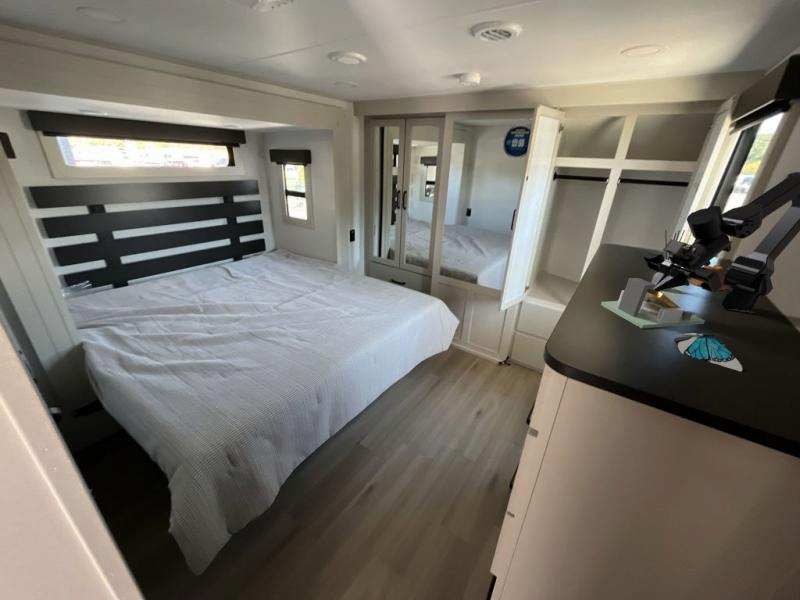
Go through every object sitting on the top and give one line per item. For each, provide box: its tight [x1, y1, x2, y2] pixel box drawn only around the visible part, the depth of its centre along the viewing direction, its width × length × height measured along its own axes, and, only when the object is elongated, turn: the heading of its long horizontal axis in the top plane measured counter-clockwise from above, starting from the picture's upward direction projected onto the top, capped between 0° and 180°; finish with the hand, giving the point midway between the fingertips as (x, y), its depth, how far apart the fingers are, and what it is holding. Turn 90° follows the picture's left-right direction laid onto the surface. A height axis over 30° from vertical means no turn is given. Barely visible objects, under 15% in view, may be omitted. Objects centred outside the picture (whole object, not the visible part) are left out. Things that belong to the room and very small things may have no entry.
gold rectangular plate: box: [645, 288, 686, 316], centre depth 87 cm, size 1×10×13 cm
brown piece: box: [689, 264, 728, 291], centre depth 112 cm, size 12×12×7 cm
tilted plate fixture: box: [600, 277, 706, 329], centre depth 87 cm, size 20×14×10 cm
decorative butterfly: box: [673, 332, 743, 372], centre depth 71 cm, size 10×6×10 cm
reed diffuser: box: [651, 229, 686, 284], centre depth 105 cm, size 10×7×20 cm
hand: (651, 291), depth 86 cm, fingers closed, pressing on gold rectangular plate
